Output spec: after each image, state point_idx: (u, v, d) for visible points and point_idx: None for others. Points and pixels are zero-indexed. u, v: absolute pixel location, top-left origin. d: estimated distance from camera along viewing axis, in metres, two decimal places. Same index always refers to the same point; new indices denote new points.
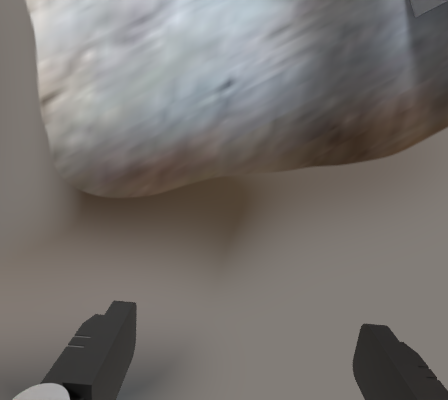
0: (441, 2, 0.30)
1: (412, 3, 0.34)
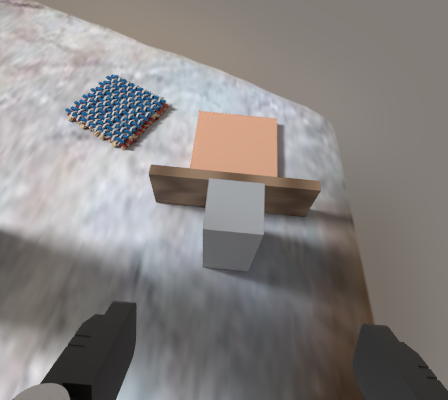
0: (252, 257, 0.31)
1: (235, 269, 0.34)
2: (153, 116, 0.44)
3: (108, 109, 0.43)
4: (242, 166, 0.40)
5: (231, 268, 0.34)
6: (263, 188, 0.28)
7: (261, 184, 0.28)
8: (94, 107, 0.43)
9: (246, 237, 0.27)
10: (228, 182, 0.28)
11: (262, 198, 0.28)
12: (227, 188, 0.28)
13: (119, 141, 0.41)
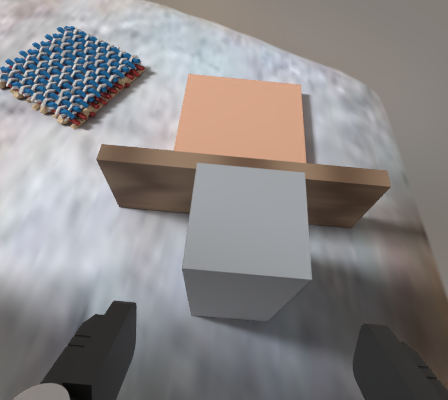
0: (278, 307, 0.17)
1: (245, 319, 0.21)
2: (122, 81, 0.30)
3: (55, 70, 0.30)
4: (253, 151, 0.26)
5: (238, 317, 0.20)
6: (303, 181, 0.14)
7: (298, 174, 0.15)
8: (34, 68, 0.30)
9: (272, 283, 0.13)
10: (234, 170, 0.14)
11: (303, 201, 0.14)
12: (233, 182, 0.14)
13: (67, 115, 0.27)
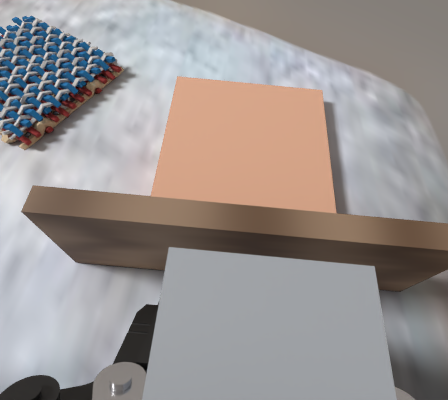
0: None
1: None
2: (91, 86, 0.23)
3: (3, 72, 0.23)
4: (261, 182, 0.20)
5: None
6: (374, 287, 0.07)
7: (363, 270, 0.08)
8: None
9: None
10: (240, 263, 0.08)
11: (378, 335, 0.07)
12: (237, 290, 0.07)
13: (13, 132, 0.20)
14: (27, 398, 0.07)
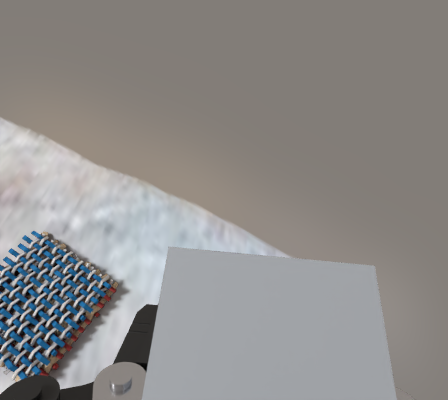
0: None
1: None
2: (90, 314, 0.28)
3: (16, 308, 0.27)
4: None
5: None
6: (374, 287, 0.07)
7: (363, 269, 0.08)
8: None
9: None
10: (240, 263, 0.08)
11: (378, 334, 0.07)
12: (237, 290, 0.07)
13: None
14: (27, 398, 0.07)
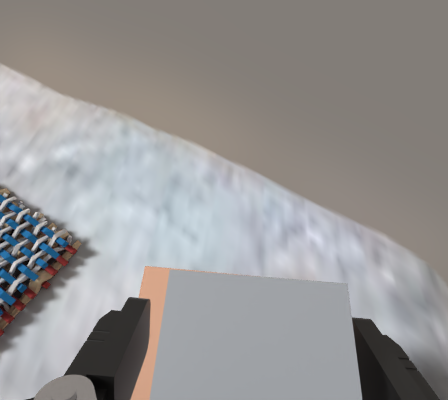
0: None
1: None
2: (35, 284, 0.19)
3: None
4: None
5: None
6: (346, 302, 0.09)
7: (337, 287, 0.09)
8: None
9: None
10: (232, 283, 0.09)
11: (348, 344, 0.08)
12: (229, 306, 0.08)
13: None
14: None
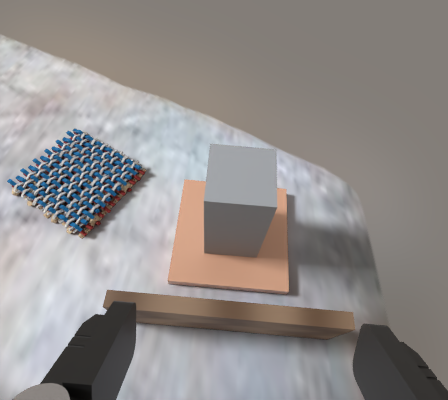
0: (262, 239, 0.26)
1: (241, 255, 0.30)
2: (124, 188, 0.34)
3: (64, 180, 0.33)
4: (241, 264, 0.30)
5: (237, 254, 0.30)
6: (275, 154, 0.24)
7: (272, 150, 0.24)
8: (46, 177, 0.33)
9: (255, 212, 0.22)
10: (233, 148, 0.24)
11: (274, 166, 0.23)
12: (232, 155, 0.23)
13: (75, 228, 0.31)
14: None
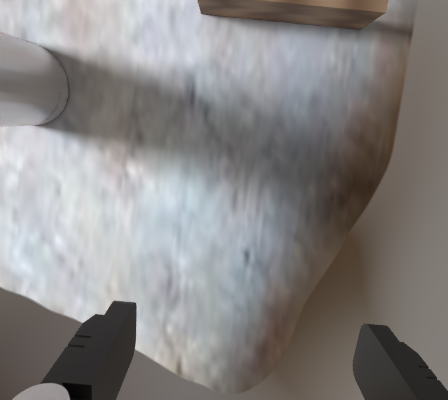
0: None
1: None
2: None
3: None
4: None
5: None
6: None
7: None
8: None
9: None
10: None
11: None
12: None
13: None
14: None
